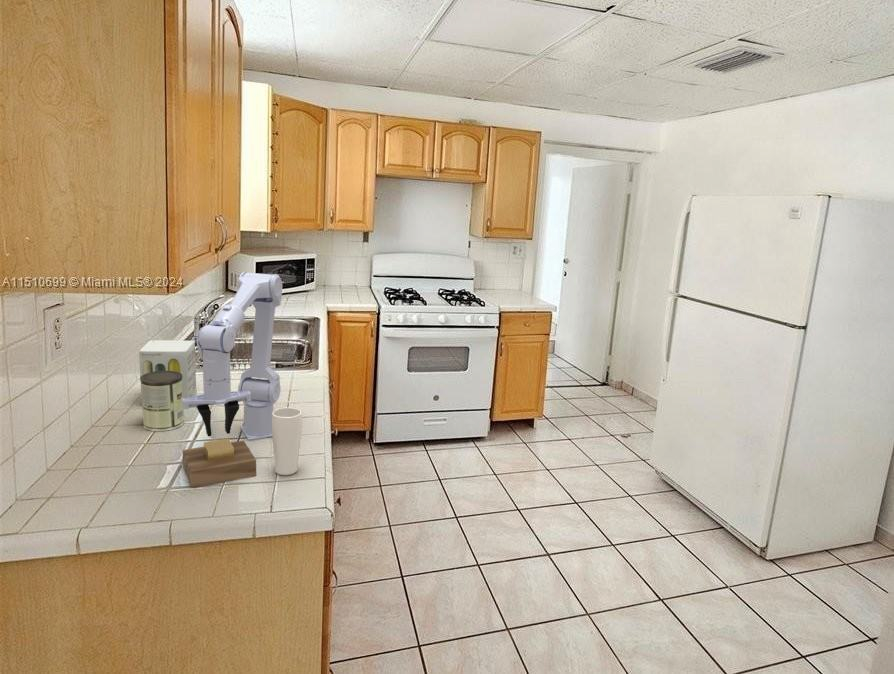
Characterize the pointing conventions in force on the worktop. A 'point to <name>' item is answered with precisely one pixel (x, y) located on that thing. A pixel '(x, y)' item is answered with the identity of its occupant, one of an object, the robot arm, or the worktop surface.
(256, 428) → the robot arm
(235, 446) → the brown wooden block
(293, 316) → the worktop surface
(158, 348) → the supplement box
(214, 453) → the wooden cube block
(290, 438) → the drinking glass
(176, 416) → the coffee can
